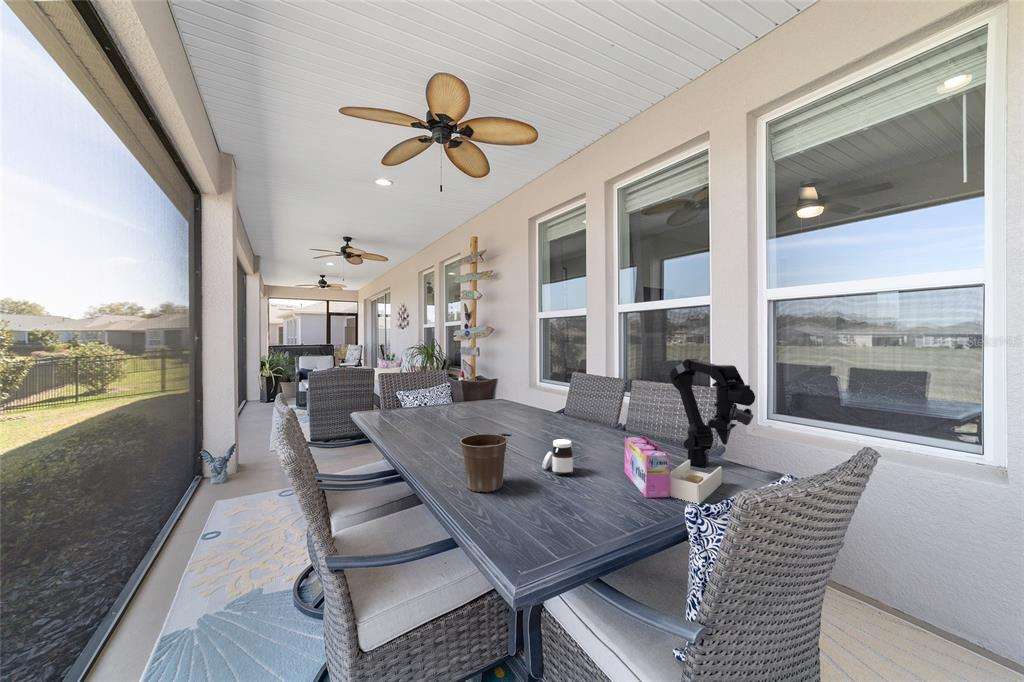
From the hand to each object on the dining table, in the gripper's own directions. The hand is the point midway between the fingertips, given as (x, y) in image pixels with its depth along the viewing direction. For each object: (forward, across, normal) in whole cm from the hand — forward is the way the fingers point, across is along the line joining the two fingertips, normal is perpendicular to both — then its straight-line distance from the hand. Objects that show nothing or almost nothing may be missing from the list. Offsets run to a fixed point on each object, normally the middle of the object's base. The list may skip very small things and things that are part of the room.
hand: (724, 444), depth 145 cm
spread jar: (+12, -35, +48) cm, 61 cm away
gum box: (+12, -25, +18) cm, 33 cm away
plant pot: (+12, -63, +58) cm, 86 cm away
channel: (+12, -18, +4) cm, 22 cm away
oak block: (+10, -25, +2) cm, 26 cm away
